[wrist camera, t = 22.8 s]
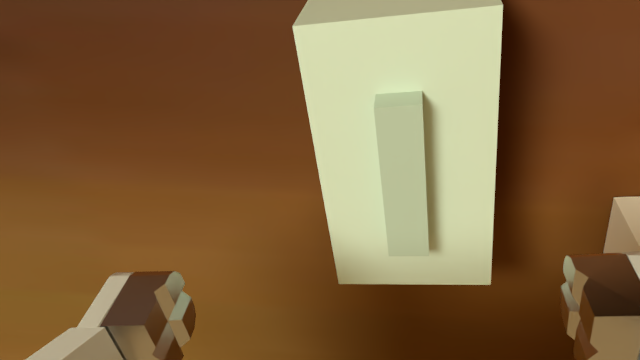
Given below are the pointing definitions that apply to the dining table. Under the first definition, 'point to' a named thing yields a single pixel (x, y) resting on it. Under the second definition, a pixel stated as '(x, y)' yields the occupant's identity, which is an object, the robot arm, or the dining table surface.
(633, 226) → the housing
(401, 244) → the cover
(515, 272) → the dining table surface
